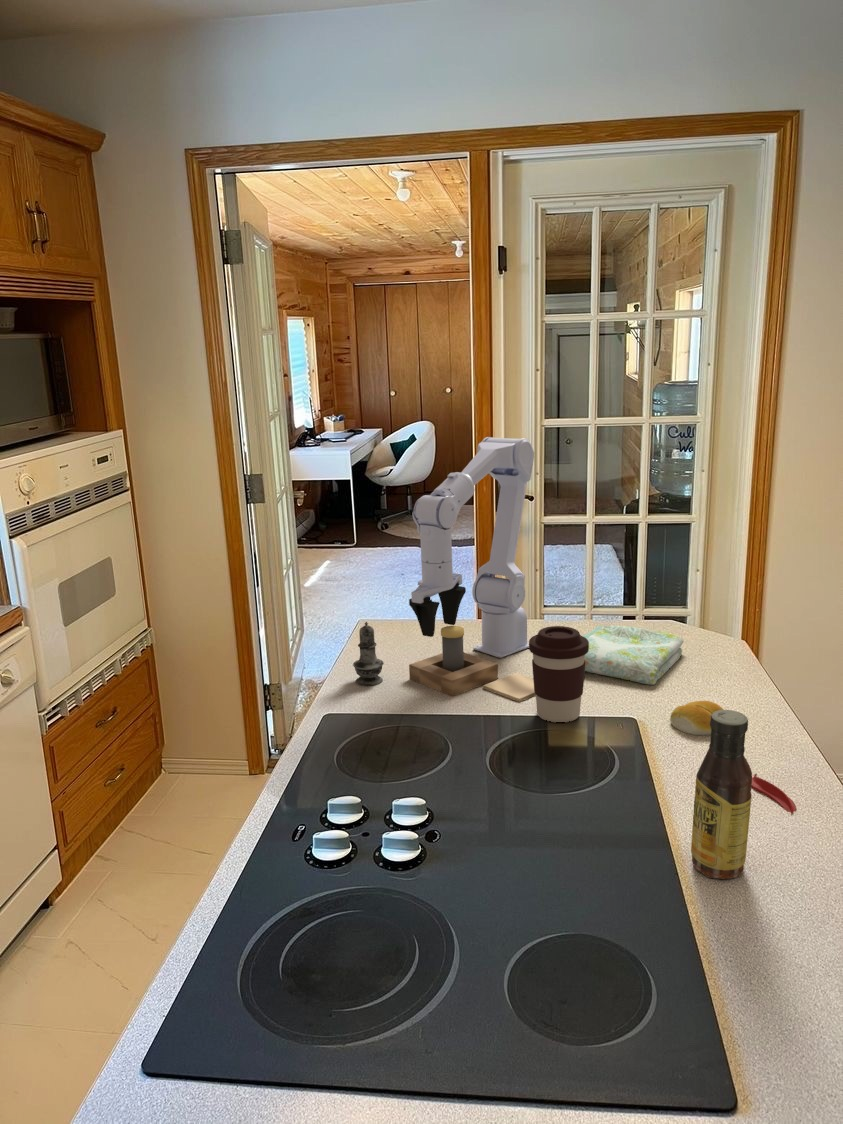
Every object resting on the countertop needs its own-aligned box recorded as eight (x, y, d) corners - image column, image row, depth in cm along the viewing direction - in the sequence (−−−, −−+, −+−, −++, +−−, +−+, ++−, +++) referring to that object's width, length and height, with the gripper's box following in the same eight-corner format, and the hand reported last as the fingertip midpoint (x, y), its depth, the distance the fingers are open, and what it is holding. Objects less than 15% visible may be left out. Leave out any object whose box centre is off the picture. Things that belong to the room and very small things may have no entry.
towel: (686, 654, 174) (687, 630, 173) (653, 690, 157) (654, 663, 156) (600, 641, 184) (601, 618, 183) (561, 673, 166) (561, 648, 165)
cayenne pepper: (741, 775, 125) (742, 763, 125) (774, 775, 125) (775, 763, 124) (765, 818, 113) (766, 805, 113) (801, 819, 113) (802, 806, 113)
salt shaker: (386, 675, 167) (383, 616, 164) (382, 686, 162) (379, 626, 159) (356, 675, 168) (353, 616, 165) (351, 686, 162) (348, 626, 159)
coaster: (516, 675, 165) (516, 672, 165) (552, 687, 158) (552, 684, 158) (483, 688, 159) (483, 685, 159) (519, 701, 152) (519, 698, 152)
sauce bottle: (682, 854, 105) (689, 704, 101) (731, 850, 106) (740, 701, 101) (703, 886, 99) (712, 728, 94) (755, 882, 100) (766, 724, 95)
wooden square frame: (454, 663, 172) (454, 649, 172) (497, 678, 164) (497, 663, 163) (409, 679, 165) (409, 664, 164) (452, 696, 156) (452, 680, 155)
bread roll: (737, 727, 140) (738, 704, 139) (701, 741, 136) (702, 718, 135) (696, 710, 147) (697, 688, 146) (660, 723, 142) (661, 701, 141)
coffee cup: (593, 708, 149) (595, 626, 145) (579, 731, 140) (580, 644, 137) (539, 700, 153) (539, 620, 149) (521, 722, 144) (521, 637, 141)
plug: (454, 672, 167) (452, 624, 165) (469, 678, 164) (468, 629, 162) (437, 679, 164) (435, 629, 162) (453, 685, 161) (451, 634, 159)
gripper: (439, 549, 166) (441, 616, 169) (396, 566, 154) (399, 637, 158) (470, 553, 162) (472, 621, 165) (429, 570, 151) (431, 643, 154)
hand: (439, 629), depth 161 cm, fingers open, 7 cm apart
